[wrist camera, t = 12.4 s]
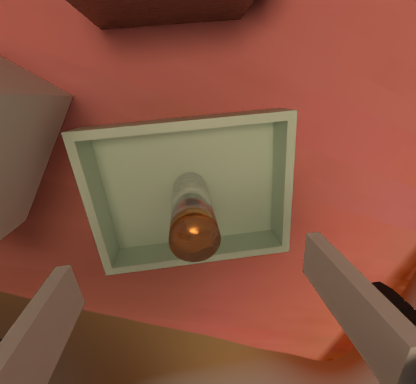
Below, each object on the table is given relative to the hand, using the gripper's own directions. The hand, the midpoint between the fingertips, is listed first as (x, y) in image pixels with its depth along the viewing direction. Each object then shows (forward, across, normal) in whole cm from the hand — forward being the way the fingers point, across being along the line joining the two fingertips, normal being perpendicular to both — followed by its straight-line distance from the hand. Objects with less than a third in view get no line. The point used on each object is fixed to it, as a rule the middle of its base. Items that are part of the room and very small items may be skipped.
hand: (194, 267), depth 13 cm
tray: (+14, 0, 0) cm, 14 cm away
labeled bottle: (+13, 0, 0) cm, 13 cm away
